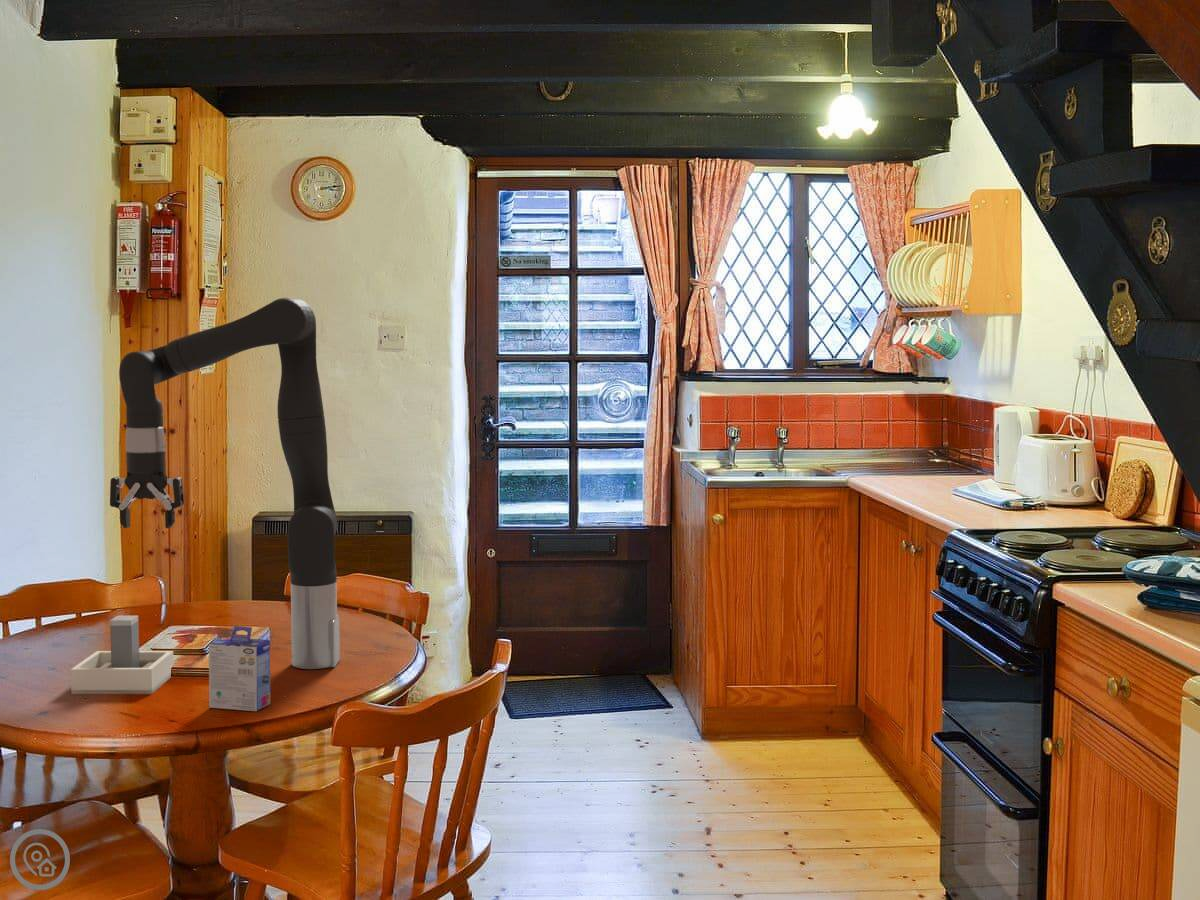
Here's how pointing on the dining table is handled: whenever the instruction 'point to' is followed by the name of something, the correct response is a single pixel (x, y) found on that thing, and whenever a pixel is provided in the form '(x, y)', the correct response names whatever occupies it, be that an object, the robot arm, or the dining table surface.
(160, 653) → the caddy
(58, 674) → the dining table surface
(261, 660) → the ink cartridge box
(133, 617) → the plug
